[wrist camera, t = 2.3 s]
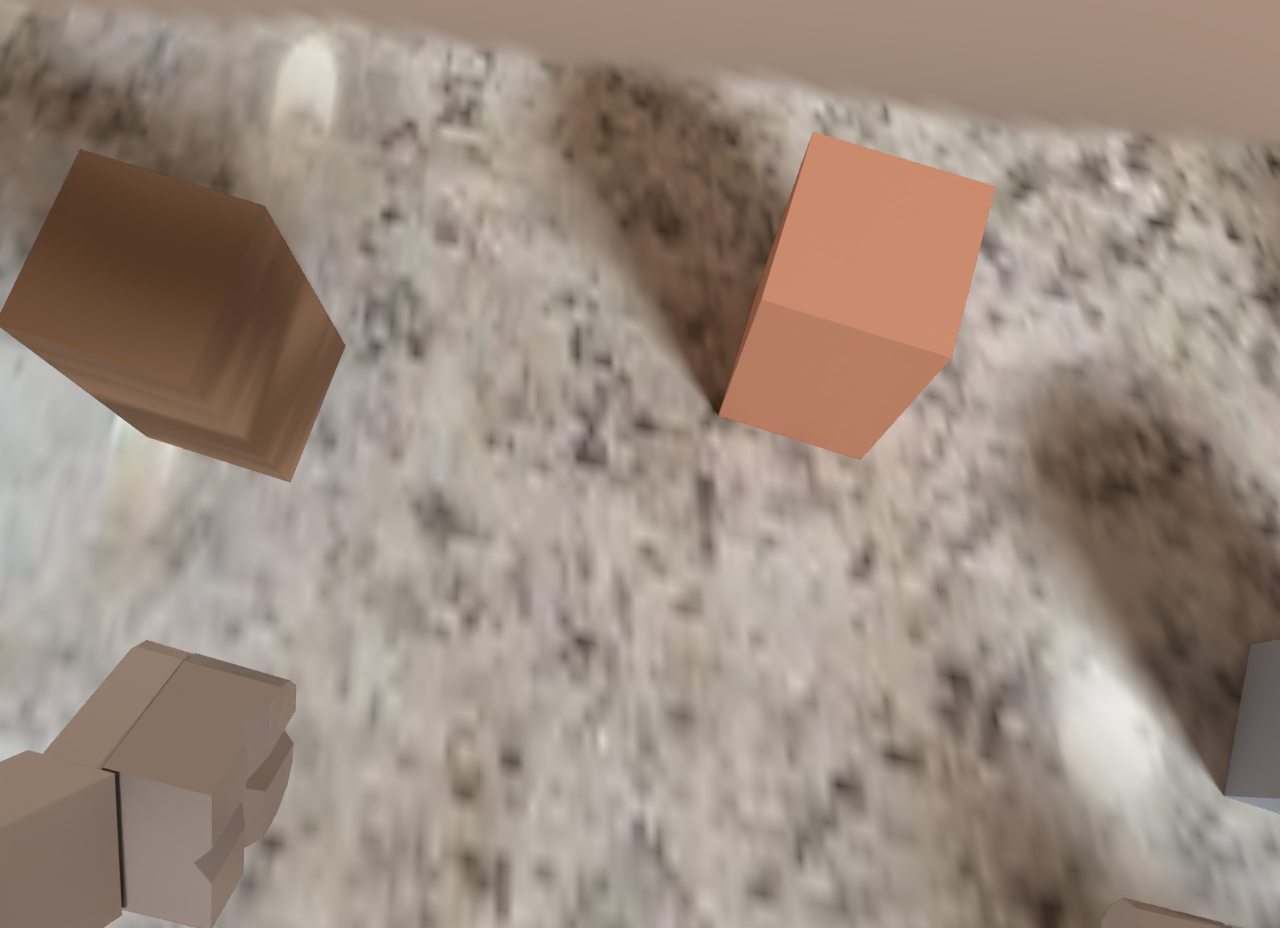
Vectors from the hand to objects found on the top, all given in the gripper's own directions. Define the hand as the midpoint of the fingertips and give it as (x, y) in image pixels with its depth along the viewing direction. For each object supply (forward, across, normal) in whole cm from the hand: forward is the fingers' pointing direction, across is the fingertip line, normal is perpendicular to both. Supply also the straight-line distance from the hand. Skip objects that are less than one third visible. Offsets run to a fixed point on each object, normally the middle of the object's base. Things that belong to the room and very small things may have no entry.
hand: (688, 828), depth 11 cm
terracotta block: (+24, -2, +6) cm, 25 cm away
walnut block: (+21, +14, +9) cm, 27 cm away
